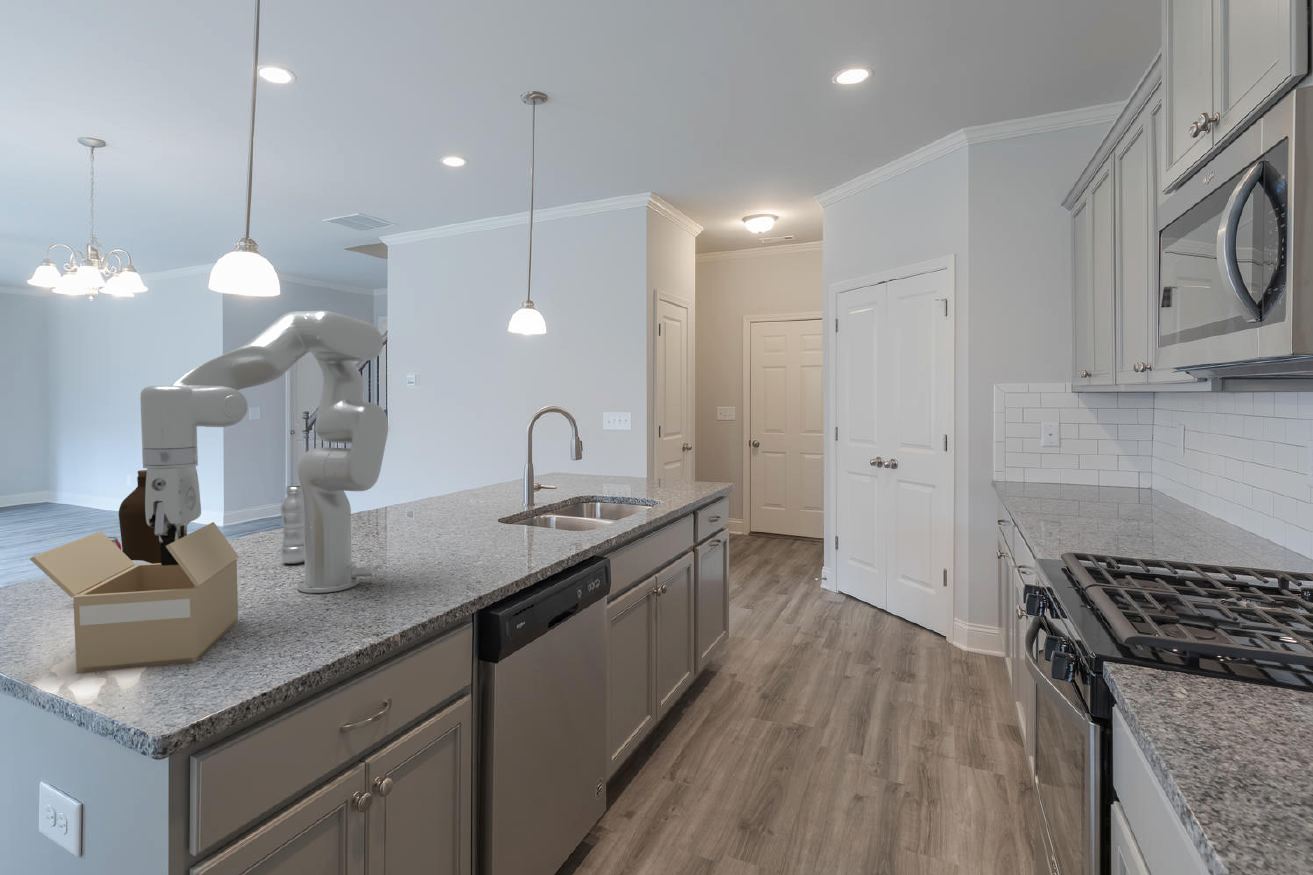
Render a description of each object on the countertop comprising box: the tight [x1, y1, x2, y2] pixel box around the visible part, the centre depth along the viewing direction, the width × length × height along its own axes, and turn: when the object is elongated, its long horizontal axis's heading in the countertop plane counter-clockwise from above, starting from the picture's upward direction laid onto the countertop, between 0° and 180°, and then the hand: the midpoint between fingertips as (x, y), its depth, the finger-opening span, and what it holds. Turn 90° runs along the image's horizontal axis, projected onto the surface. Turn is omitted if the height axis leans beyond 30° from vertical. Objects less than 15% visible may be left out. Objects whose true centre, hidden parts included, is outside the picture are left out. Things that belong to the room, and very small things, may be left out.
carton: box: [72, 558, 239, 674], centre depth 110 cm, size 16×20×12 cm
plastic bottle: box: [280, 485, 305, 565], centre depth 165 cm, size 6×7×20 cm
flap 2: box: [166, 521, 239, 587], centre depth 111 cm, size 8×19×1 cm
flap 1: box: [29, 530, 135, 598], centre depth 107 cm, size 8×19×1 cm
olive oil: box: [118, 469, 161, 564], centre depth 154 cm, size 11×11×25 cm
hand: (174, 563), depth 110 cm, fingers closed
